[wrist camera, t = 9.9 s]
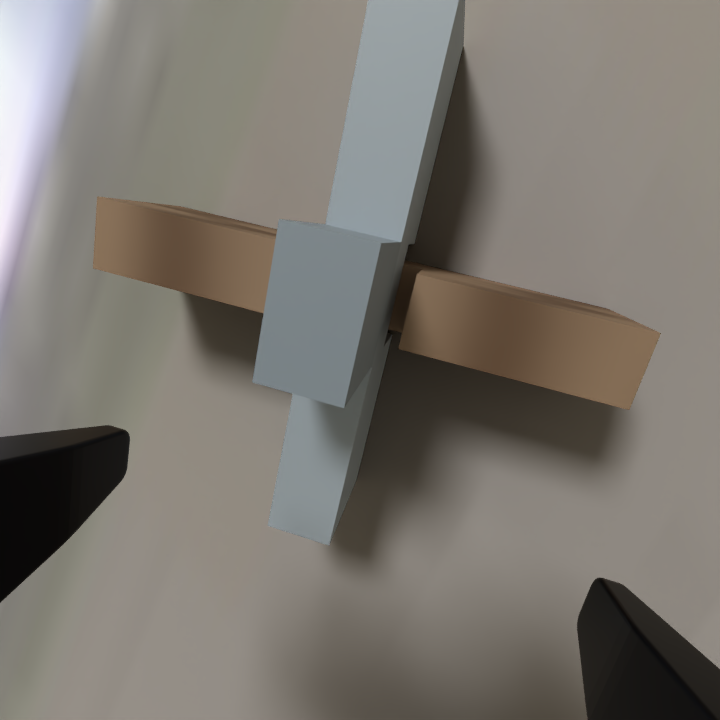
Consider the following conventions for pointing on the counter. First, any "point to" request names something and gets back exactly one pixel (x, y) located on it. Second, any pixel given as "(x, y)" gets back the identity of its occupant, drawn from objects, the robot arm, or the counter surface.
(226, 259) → the walnut slotted plate
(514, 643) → the counter surface
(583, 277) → the counter surface
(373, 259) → the pale blue collared bar
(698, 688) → the robot arm
